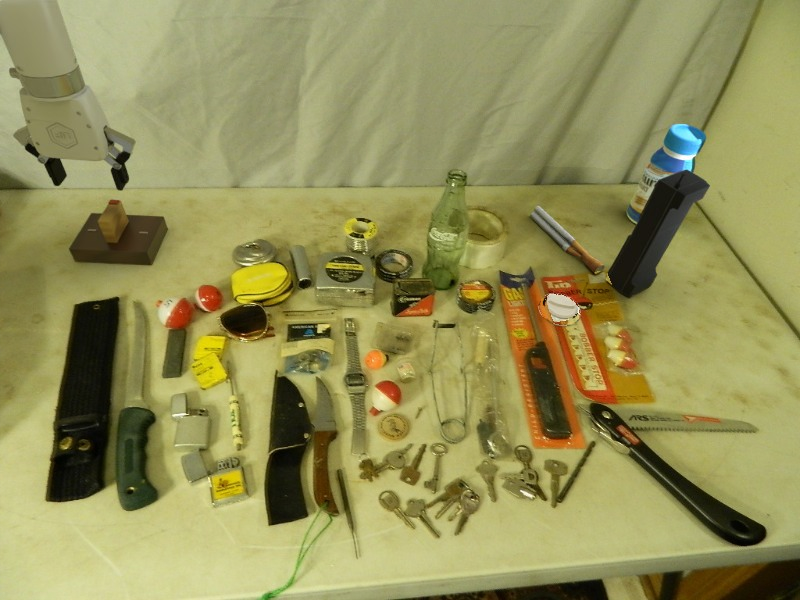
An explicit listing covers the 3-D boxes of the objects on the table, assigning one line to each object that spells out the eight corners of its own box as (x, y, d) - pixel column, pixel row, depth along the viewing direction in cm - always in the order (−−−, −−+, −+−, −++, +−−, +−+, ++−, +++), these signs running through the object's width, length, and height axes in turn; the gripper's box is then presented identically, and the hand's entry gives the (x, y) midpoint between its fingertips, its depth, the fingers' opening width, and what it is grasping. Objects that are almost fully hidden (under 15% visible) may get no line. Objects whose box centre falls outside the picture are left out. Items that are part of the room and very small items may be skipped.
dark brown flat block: (74, 261, 92) (67, 248, 90) (96, 225, 99) (90, 212, 97) (151, 265, 93) (146, 251, 90) (168, 228, 100) (163, 215, 97)
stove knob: (578, 331, 89) (582, 323, 88) (535, 319, 90) (538, 311, 89) (581, 301, 94) (585, 293, 93) (540, 290, 95) (543, 283, 94)
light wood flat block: (117, 242, 92) (108, 220, 88) (106, 242, 91) (96, 220, 88) (129, 221, 96) (120, 199, 92) (118, 220, 96) (110, 198, 92)
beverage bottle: (670, 231, 110) (719, 145, 96) (631, 229, 110) (674, 142, 95) (657, 206, 116) (701, 122, 102) (619, 204, 116) (658, 119, 101)
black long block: (629, 265, 102) (690, 149, 84) (654, 284, 99) (723, 168, 81) (601, 278, 99) (659, 161, 81) (626, 299, 95) (692, 182, 77)
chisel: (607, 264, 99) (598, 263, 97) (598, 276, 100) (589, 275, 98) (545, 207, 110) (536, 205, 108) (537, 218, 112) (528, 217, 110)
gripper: (-28, 86, 70) (25, 193, 83) (107, 97, 72) (139, 201, 84) (1, 62, 76) (46, 166, 88) (126, 73, 77) (154, 174, 89)
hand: (92, 183), depth 86 cm, fingers open, 9 cm apart
